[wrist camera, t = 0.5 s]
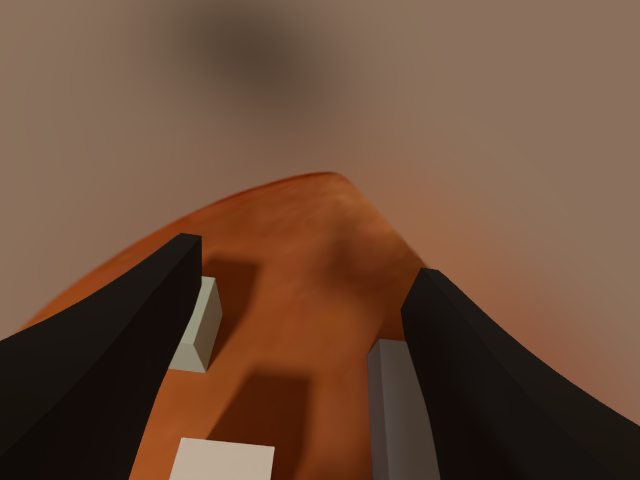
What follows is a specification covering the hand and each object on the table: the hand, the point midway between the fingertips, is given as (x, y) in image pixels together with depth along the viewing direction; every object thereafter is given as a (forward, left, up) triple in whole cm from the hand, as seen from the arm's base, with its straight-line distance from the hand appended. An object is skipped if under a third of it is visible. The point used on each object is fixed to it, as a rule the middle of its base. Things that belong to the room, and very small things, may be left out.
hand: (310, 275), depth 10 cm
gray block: (0, -11, -18) cm, 21 cm away
